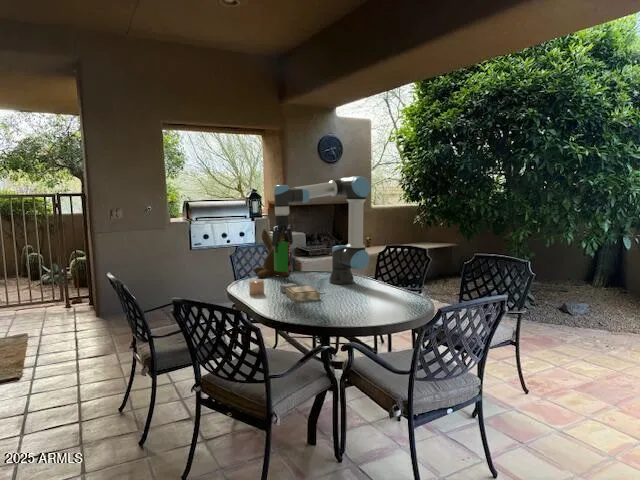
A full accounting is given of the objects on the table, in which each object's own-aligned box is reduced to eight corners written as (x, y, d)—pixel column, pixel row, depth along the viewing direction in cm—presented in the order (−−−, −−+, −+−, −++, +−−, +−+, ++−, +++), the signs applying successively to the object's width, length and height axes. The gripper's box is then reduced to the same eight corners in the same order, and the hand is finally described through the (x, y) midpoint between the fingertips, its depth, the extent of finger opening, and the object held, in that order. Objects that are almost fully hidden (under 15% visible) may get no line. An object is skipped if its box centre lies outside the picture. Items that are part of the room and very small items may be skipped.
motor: (294, 270, 228) (292, 233, 225) (277, 272, 224) (275, 234, 221) (287, 267, 237) (286, 230, 234) (272, 269, 234) (270, 232, 231)
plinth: (310, 293, 240) (310, 285, 240) (319, 299, 227) (319, 290, 227) (286, 295, 235) (286, 287, 235) (294, 301, 222) (294, 292, 222)
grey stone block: (291, 289, 250) (291, 283, 249) (296, 291, 246) (296, 284, 246) (280, 292, 244) (280, 285, 244) (286, 293, 241) (285, 286, 240)
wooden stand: (301, 274, 295) (301, 223, 291) (268, 280, 274) (267, 225, 270) (274, 269, 315) (274, 220, 311) (241, 274, 295) (240, 223, 291)
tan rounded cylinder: (262, 291, 245) (262, 279, 244) (265, 294, 237) (265, 282, 237) (248, 292, 242) (247, 280, 241) (251, 296, 234) (250, 283, 234)
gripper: (288, 213, 238) (289, 254, 240) (263, 215, 221) (265, 260, 224) (299, 213, 233) (300, 255, 236) (275, 216, 217) (276, 261, 220)
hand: (283, 257), depth 230 cm, fingers closed on motor, 7 cm apart
